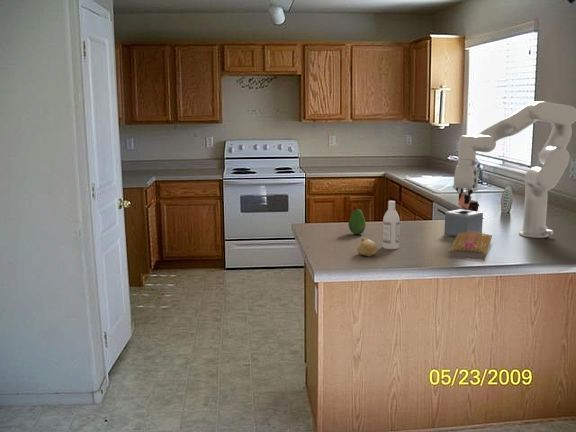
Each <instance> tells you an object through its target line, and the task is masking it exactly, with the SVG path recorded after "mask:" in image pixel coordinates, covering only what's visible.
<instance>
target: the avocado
mask: <svg viewBox="0 0 576 432" xmlns="http://www.w3.org/2000/svg"><path fill="white" fill-rule="evenodd" d="M348 229H349V230H350V233H352V234H354V235H356V234H359V235H361V234H363V233H364V231H365V229H366V219H365V216H364V213H363V210H361V209H358V208H357V209H355V210H353V211H352V213H351V214H350V217H349V219H348Z"/></svg>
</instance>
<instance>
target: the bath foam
mask: <svg viewBox="0 0 576 432" xmlns="http://www.w3.org/2000/svg"><path fill="white" fill-rule="evenodd" d="M387 203H388V205H387V208H388V209H387V210H386V212H385V213H384V215H383V218H382V238H381V239H382V240H381V241H382V243H381V245H382V248H383V249H385V250H397V249H399V247H400V228H401V227H400V224H401V221H400V220H401V219H400V216H399V214H398V211H397V210H396V201H395V200H388V202H387Z"/></svg>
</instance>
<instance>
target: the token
mask: <svg viewBox="0 0 576 432" xmlns="http://www.w3.org/2000/svg"><path fill="white" fill-rule="evenodd" d="M465 195H466V192H463V193H462V194H461V198H460V200H459V199H458V204H457V206H458V207H460V209H462V208H463V209H468V208H469V204H470V202H469V204H464V201H465V198H464V196H465ZM472 199H473V198H472V196H471V195H470V201H471V200H472Z"/></svg>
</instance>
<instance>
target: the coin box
mask: <svg viewBox="0 0 576 432" xmlns="http://www.w3.org/2000/svg"><path fill="white" fill-rule="evenodd" d="M444 213H445V214H444V232H443V233H444V235H443V236H445V235H446V236H445V237H450V236H451V238H455V239H456V237H457V235H458V233H464V232H476V233H477V232H479V233H483V224H484V223H483V218H484V212H483V211H478V212H477V211H470V210H463V209H462V208H458V209H455V210H454V209H453V210H449V211H445V212H444ZM466 234H467V233H466ZM468 234H469V233H468ZM479 235H480V234H479ZM457 238H458V237H457Z"/></svg>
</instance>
